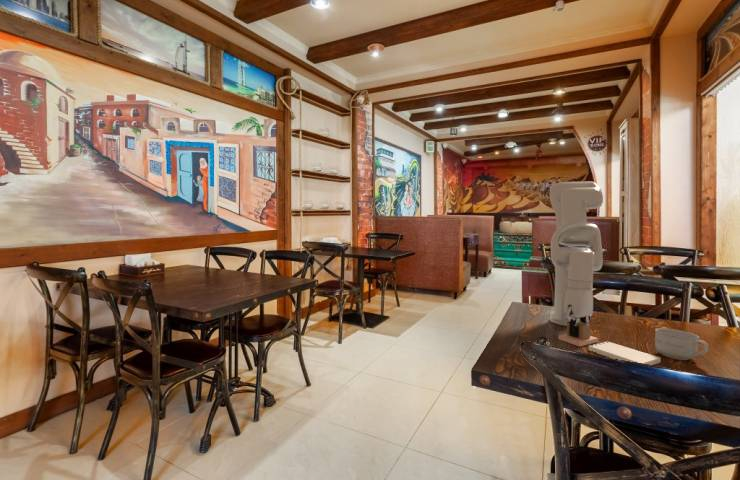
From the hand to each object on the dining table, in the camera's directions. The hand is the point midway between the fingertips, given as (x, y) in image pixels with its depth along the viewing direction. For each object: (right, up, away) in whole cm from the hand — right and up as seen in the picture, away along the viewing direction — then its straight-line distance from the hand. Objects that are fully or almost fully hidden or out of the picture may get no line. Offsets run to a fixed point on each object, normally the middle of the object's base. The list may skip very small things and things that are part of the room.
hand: (578, 334), depth 130 cm
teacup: (+23, -4, -15) cm, 28 cm away
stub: (0, -2, 0) cm, 2 cm away
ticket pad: (+7, -3, -13) cm, 15 cm away
